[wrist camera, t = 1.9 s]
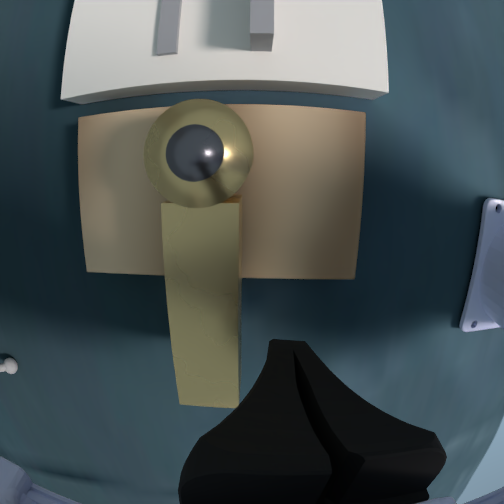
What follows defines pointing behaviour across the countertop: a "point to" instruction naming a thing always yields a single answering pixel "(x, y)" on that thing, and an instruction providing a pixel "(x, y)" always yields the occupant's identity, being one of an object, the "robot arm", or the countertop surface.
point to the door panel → (224, 47)
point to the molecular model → (9, 366)
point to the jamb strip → (252, 190)
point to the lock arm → (202, 242)
